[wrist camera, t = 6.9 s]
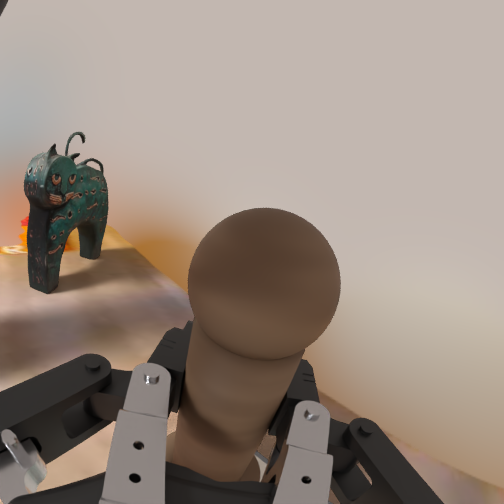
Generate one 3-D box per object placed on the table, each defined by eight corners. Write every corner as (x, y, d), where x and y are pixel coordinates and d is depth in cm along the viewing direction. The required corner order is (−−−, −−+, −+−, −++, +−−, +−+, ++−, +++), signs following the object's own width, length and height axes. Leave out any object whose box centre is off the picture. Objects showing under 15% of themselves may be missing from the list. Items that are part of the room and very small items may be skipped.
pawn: (133, 456, 10) (146, 178, 7) (209, 423, 15) (270, 199, 11) (199, 532, 7) (327, 244, 4) (275, 480, 11) (400, 245, 8)
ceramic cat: (46, 302, 25) (60, 124, 20) (12, 287, 24) (23, 124, 20) (109, 256, 44) (128, 142, 39) (80, 248, 43) (96, 138, 39)
